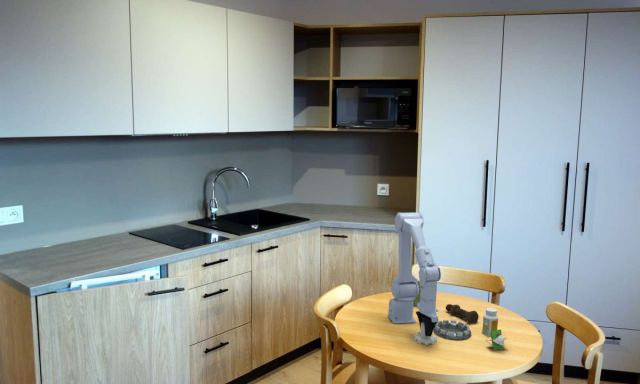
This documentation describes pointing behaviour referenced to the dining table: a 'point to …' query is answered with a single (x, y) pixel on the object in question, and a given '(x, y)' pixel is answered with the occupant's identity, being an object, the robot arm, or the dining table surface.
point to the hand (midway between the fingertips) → (425, 333)
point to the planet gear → (424, 337)
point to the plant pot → (417, 299)
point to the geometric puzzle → (497, 339)
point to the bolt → (463, 313)
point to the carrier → (452, 330)
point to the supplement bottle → (490, 321)
